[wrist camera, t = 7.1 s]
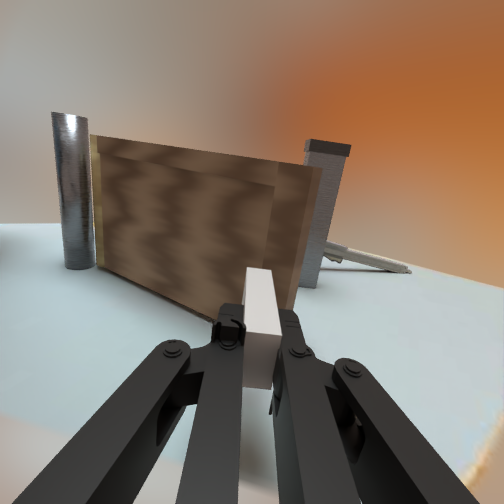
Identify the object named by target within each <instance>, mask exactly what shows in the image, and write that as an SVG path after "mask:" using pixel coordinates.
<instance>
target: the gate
mask: <svg viewBox="0 0 504 504" xmlns="http://www.w3.org/2000/svg"><path fill="white" fill-rule="evenodd" d="M90 148H91V167H92V186H93V205H94V225H95V245H96V264H97V266H99V267H105V268H107V269H109V270H111V271H113V272H115V273H117V274H119V275H121V276H123V277H126V278H128V279H130V280H132V281H134V282H136V283H138V284H140V285H142V286H145V287H147V288H149V289H151V290H153V291H155V292H157V293H159V294H161V295H164V296H166V297H168V298H170V299H172V300H174V301H176V302H178V303H180V304H183V305H185V306H187V307H189V308H191V309H193V310H195V311H197V312H199V313H202V314H204V315H206V316H208V317H210V318H212V319H214V320H217V318H218V313H219V309H220V307H221V306H222V305H223V304H224V303H232V304H240V305H242V299H243V292H244V285H245V278H246V271H247V267H250V268H258V269H266V270H271V272H272V278H273V284H274V290H275V296H276V302H277V308H279V309H287V310H293V307H294V302H295V298H296V293H297V288H298V283H299V279H300V274H301V269H302V264H303V260H304V255H305V250H306V245H307V241H308V236H309V231H310V226H311V222H312V217H313V212H314V207H315V203H316V198H317V193H318V188H319V184H320V179H321V174H322V169H323V168H319V167H312V166H305V165H298V164H291V163H284V162H277V161H270V160H264V159H257V158H250V157H243V156H236V155H229V154H222V153H215V152H208V151H201V150H194V149H188V148H180V147H174V146H167V145H160V144H153V143H146V142H138V141H132V140H125V139H118V138H111V137H104V136H97V135H90Z"/></svg>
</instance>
